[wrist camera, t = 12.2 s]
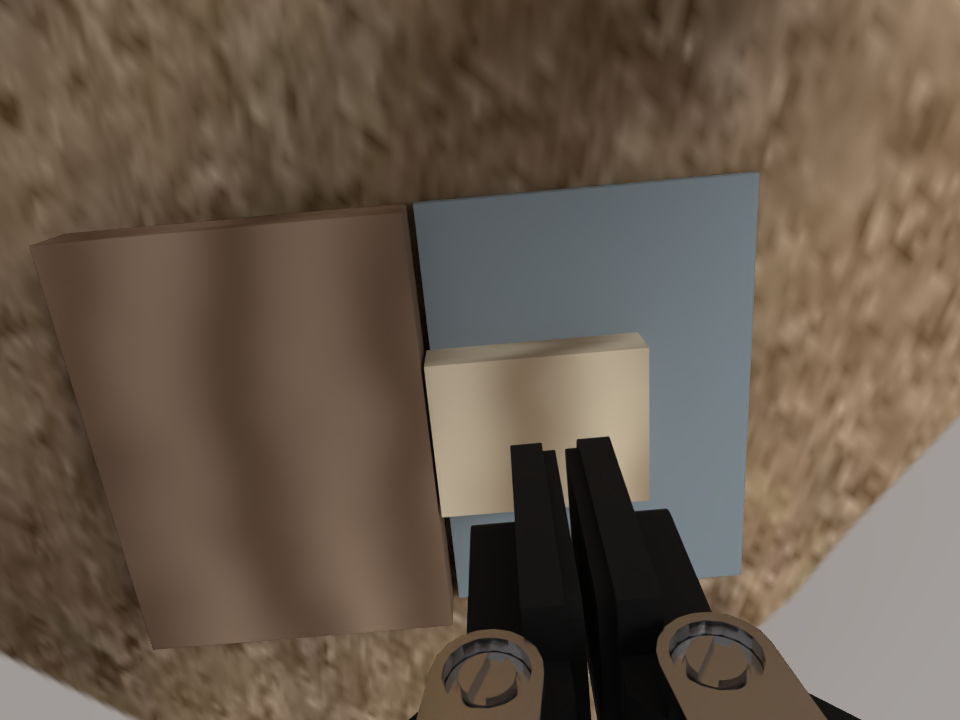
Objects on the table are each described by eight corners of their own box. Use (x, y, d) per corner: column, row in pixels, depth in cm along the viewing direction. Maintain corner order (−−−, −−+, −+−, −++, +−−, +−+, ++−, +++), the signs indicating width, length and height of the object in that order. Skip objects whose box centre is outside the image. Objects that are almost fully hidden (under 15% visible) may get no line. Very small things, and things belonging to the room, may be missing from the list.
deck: (406, 203, 29) (401, 212, 27) (453, 590, 36) (452, 625, 33) (64, 233, 29) (29, 245, 27) (173, 613, 36) (153, 649, 33)
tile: (638, 332, 30) (649, 347, 28) (639, 477, 33) (649, 500, 31) (426, 350, 30) (423, 367, 29) (443, 493, 33) (441, 517, 31)
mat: (753, 171, 29) (759, 173, 28) (736, 567, 35) (740, 574, 35) (414, 202, 29) (412, 204, 28) (459, 589, 36) (459, 597, 35)
